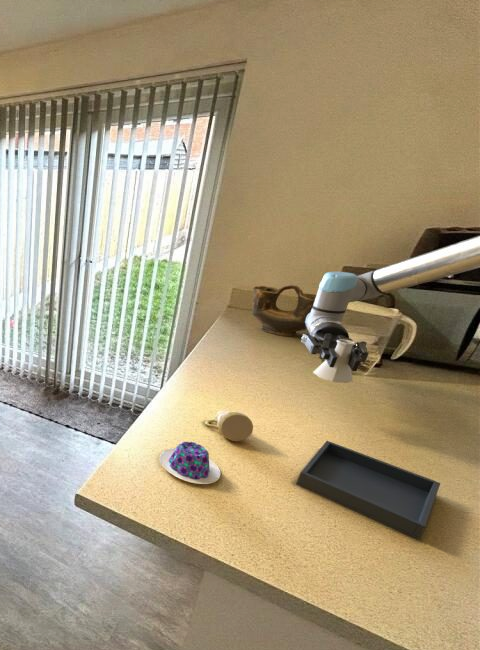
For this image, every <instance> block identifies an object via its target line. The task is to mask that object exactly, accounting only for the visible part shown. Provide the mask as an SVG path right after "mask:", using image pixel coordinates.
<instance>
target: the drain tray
mask: <svg viewBox="0 0 480 650" xmlns="http://www.w3.org/2000/svg"><path fill="white" fill-rule="evenodd" d="M295 485H296V486H299V487H300V488H303V489H305V490H307V491H309V492H312V493H314V494H316V495H318V496H320V497H321V498H324V499H326V500H329V501H331V502H333V503H334V504H338V505H339V506H342V507H344V508H346V509H349V510H350V511H352V512H355V513H357V514H359V515H361V516H364V517H366V518H368V519H369V520H372V521H374V522H376V523H379V524H381V525H383V526H385V527H387V528H389V529H392V530H394V531H396V532H398V533H401V534H403V535H405V536H407V537H409V538H411V539H414V540H416V541H418V540H419V538H420V536H421V535H422V533H423V532H424V530H425V529H426V525H427V523H428V520H429V517H430V515H431V512H432V509H433V506H434V503H435V500H436V498H437V494H438V491H439V488H440V486H441V482H439V481H437V480H434V479H432V478H429V477H426V476H423V475H420V474H417V473H415V472H413V471H410V470H408V469H404V468H402V467H399V466H397V465H393V464H392V463H389V462H386V461H383V460H380V459H378V458H375V457H372V456H370V455H367V454H364V453H361V452H359V451H356V450H354V449H351V448H348V447H346V446H343V445H341V444H337V443H334V442H333V441H332V442H331V441H329V440H326V441H325V442H324V443H323V444H322V446H321V447H320V448H319V449H318V451H316V453H315V454H314V455H313V457H312V458H311V459H310V460H309V461H308V462H307V464H306V465H305V466H304V467H303V469H302V470H301V471H300V473H299V475H298V478H297V480H296V483H295Z"/></svg>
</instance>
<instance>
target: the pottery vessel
mask: <svg viewBox="0 0 480 650" xmlns="http://www.w3.org/2000/svg"><path fill="white" fill-rule="evenodd" d="M287 290H294V291H295V293H296V295H297V304H296V308H295V309H293V310H284V309H281V308H279V307H278V306H277V301H278V298H279V297H280V295H281V294H282V293H283V292H285V291H287ZM252 291H253V293H254V298H253V307H252V312H251V314H252V316H253V318H254V319H255V320H256V321H258V322H259V323H260V324H261V325H262V327H261V330H262V331H264V332H265V333H267V334H270V335H275V336H281V337H290V338H291V337H294V336H295V335H297V332H301V331H304V330H305V331H306V330H308V329H307V327H306V324H305V321H306V317H307V315H308V314H309V313H310V312H311V310H312V307H313V305H314V302H315V298H316V295H317V294H315V293H313V294H312V293H304V292H303V290H302V289H301V288H300V286H298V285H294V284H290V285H285V286H282V287H280V288H276V287H273V286H272V287H271V286H265V285H259V286H254V287H253V288H252Z"/></svg>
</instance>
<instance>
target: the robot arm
mask: <svg viewBox="0 0 480 650" xmlns="http://www.w3.org/2000/svg"><path fill="white" fill-rule="evenodd" d="M479 268H480V235H477V236H474V237H471V238H468V239H465V240H462V241H459V242H456V243H453V244H449V245H447V246H443V247H441V248H437V249H435V250H432V251H429V252H425V253H422V254H420V255H416V256H414V257H410V258H408V259H405V260H402V261H398V262H395V263H393V264H390V265H386V266H383V267H380V268H378V269H375V270H372V271H367V272H365V273H362V274H359V275H357V274H356V273H352V272H346V271H327V272H326V273H324V275H323V277H322V279H321V281H320V282H319V285H318V289H317V291H316V292H317V293H316V294H315V295H316V298H315V302H314V305H313V307H312V310H311V312H310V313H309V314H308V315H307V317H306V321H305V324H306V327H307V329H306V330H307V331H308V333H306V332H305V333H303V334H302V337H301V340H300V342H301V343H302V344H304V345H305V347H306V349H307V351H308V352H309V354H311V355H317V354H318V359H319V360H327V362H328V365H329V367H332V368H334V365H335V363H336V360H337V356H336V354H335V352H334V350H335V348H336V346H337V340H339V339H344V340H349V341H353V342H354V339H352V338H350V335H349V332H348V330H347V329H346V327H345V326H344V324H343V323H342V321H343V318H344V316H345V313H346V311H347V308H348V306H349V304H350V303H355V302H359V301H368V300H371V299H374V298H377V297H379V296H383V295H386V294H390V293H394V292H397V291H400V290H404V289H406V288H407V289H408V288H410V287H414V286H418V285H421V284H425V283H428V282H429V283H430V282H433V281H436V280H439V279H443V278H446V277H449V276H453V275H458V274H461V273H464V272H469V271H472V270H475V269H479ZM354 343H355V345H353V346H352V349H351V353H350V359H349V363H348V364H349V366H350V368H351V372H357V371H358V368H359V366H360V365H361V363H366V361H367V359H368V357H369V354H370V352H369V350H368V347H367V344H368V342H367V341H363V340H362V341H356V342H354Z"/></svg>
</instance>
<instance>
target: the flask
mask: <svg viewBox="0 0 480 650" xmlns="http://www.w3.org/2000/svg"><path fill="white" fill-rule="evenodd" d="M355 343H356V342H355ZM355 343H354V340H353V341H349V340H344V339H339V340H337V346H336V348H335V350H334V352H335V354H336V356H337V360H336V363H335V365H334V368H332V367H329V365H328V362H327V360H326V359H324V361H323V362H322V363H321V364H320V365H319V366H318V367H317V368H316V369H315V370H314V371H313V372H312V373H313V374H314V375H315V376H317V377H318V378H320V379H322V380H326V381H328V382H331V383H341V384H347V383H350V382H353V380H354V379H353V373H352V372H353V371H352V370H351V368H350V366H349V364H348V363H349V359H350V353H351V349H352V346H353V345H355Z"/></svg>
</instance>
